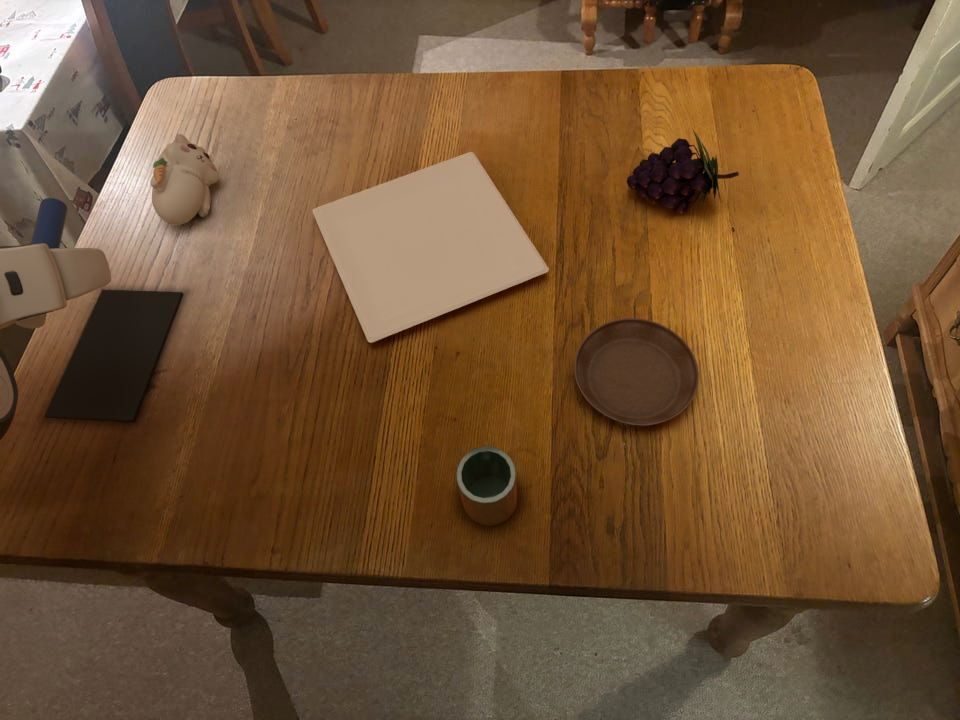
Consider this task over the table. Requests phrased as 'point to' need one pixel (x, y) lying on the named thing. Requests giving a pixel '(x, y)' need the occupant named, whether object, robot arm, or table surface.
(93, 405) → the mat
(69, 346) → the table surface
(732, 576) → the table surface
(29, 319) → the marker
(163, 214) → the cat figurine
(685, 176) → the fruit
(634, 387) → the saucer
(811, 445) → the table surface
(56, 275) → the robot arm
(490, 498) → the pen pot
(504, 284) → the beige flat square slab
